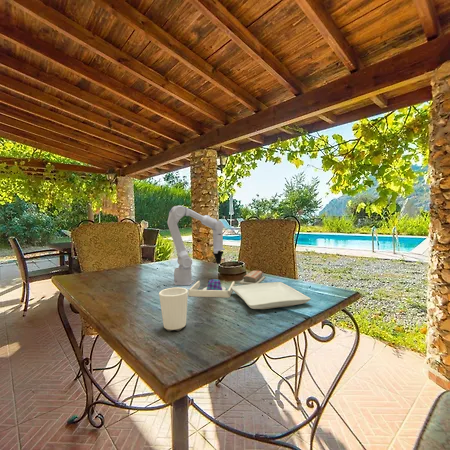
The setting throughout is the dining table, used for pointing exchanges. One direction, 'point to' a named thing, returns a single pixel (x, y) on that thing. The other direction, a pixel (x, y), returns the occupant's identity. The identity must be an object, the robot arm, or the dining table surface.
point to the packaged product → (252, 278)
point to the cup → (174, 308)
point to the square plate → (269, 295)
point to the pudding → (214, 285)
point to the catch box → (209, 291)
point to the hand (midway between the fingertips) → (218, 263)
